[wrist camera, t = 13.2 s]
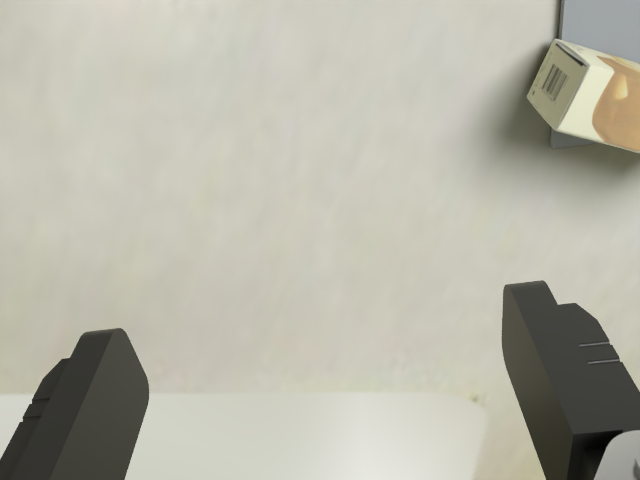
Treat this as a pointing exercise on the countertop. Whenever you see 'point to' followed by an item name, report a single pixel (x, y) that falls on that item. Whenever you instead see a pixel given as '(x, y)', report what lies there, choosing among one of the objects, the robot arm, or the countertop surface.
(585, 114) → the skincare box
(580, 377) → the robot arm
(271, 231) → the countertop surface
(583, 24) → the mat
